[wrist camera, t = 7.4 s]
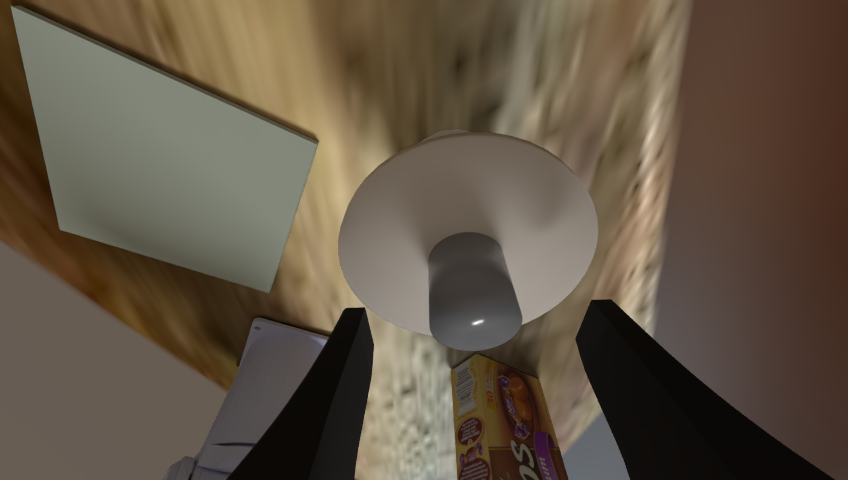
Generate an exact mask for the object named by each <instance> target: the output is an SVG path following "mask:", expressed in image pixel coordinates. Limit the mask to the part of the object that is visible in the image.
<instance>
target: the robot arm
mask: <svg viewBox="0 0 848 480" xmlns="http://www.w3.org/2000/svg"><path fill="white" fill-rule="evenodd" d="M576 343H577V346H578V350H579V353H580V356H581V360H582V363H583V366H584V369H585V372H586V374H587V376H588V379H589V381H590V383H591V386H592V388H593V390H594V393H595V395H596V397H597V399H598V402H599V404H600V406H601V408H602V411H603V413H604V415H605V417H606V420H607V422H608V424H609V426H610V428H611V431H612V433H613V435H614V438H615V440H616V442H617V445H618V447H619V450H620V452H621V455H622V457H623V459H624V462H625V465H626V468H627V471H628V474H629V477H630V480H835V479H833V478H831V477H830V476H829V475H827V474H826V473H824V472H823V471H821V470H820V469H818V468H817V467H815V466H814V465H813V464H811V463H810V462H808V461H807V460H805V459H804V458H802V457H801V456H799V455H798V454H796V453H795V452H793V451H792V450H791V449H789V448H788V447H786V446H785V445H783V444H782V443H781V442H779V441H778V440H777V439H775V438H774V437H772V436H771V435H769V434H768V433H767V432H766V431H764V430H763V429H762V428H760V427H759V426H757V425H756V424H755V423H754V422H752V421H751V420H749V419H748V418H747V417H746V416H744V415H743V414H742V413H740V412H739V411H738V410H736V409H735V408H734V407H732V406H731V405H730V404H729V403H727V402H726V401H725V400H724V399H722V398H721V397H720V396H718V395H717V394H716V393H715V392H714V391H712V390H711V389H710V388H709V387H708V386H706V385H705V384H704V383H703V382H702V381H700V380H699V379H698V378H697V377H696V376H694V375H693V374H692V373H691V372H690V371H689V370H687V369H686V368H685V367H684V366H683V365H682V364H681V363H679V362H678V361H677V360H676V359H675V358H674V357H672V356H671V355H670V354H669V353H668V352H667V351H666V350H665V349H664V348H663V347H662V346H660V345H659V344H658V343H657V342H656V341H655V340H654V339H653V338H652V337H651V336H650V335H649V334H647V333H646V332H645V331H644V330H643V329H642V328H641V327H640V326H639V325H638V324H637V323H636V322H635V321H634V320H633V319H631V318H630V317H629V316H628V315H627V314H626V313H625V312H624V311H623V310H622V309H621V308H620V307H619V306H618V305H617V304H615V303H614V302H613V301H612V300H611V299H608V300H591V302H590V305H589V307H588V309H587V312H586V314H585V317H584V319H583V322H582V324H581V327H580V329H579V331H578V334H577V336H576ZM373 352H374V343H373V339H372V335H371V330H370V326H369V322H368V318H367V314H366V310H365V307H364V308H346V309H345V310H344V311H343V312H342V314H341V316H340V318H339V320H338V322H337V324H336V326H335V328H334V330H333V331H332V333H331V335H330V337H327V336H324V335H320V334H317V333H313V332H309V331H306V330H302V329H299V328H295V327H292V326H288V325H285V324H281V323H278V322H274V321H270V320H267V319H263V318H255V319H254V320H253V322H252V325H251V329H250V332H249V335H248V339H247V342H246V345H245V349H244V352H243V355H242V358H241V362H240V365H239V368H238V372H237V375H236V377H235V379H234V381H233V383H232V385H231V388H230V390H229V392H228V394H227V396H226V398H225V400H224V402H223V404H222V406H221V408H220V411H219V413H218V415H217V417H216V419H215V421H214V423H213V425H212V427H211V429H210V431H209V434H208V436H207V438H206V440H205V442H204V444H203V446H202V448H201V450H200V452H199V453H198V454H197V455H196V456H195V458H192V457H189V456H185V457H183V458H182V459H181V460H180V461H178V462H176V463H174V464H173V465H171V466H170V467H169V468H168V470H167V471H166V473H165V474H164V476H163V477H162V479H161V480H354V476H355V467H356V460H357V453H358V447H359V441H360V436H361V431H362V425H363V420H364V415H365V409H366V404H367V398H368V393H369V388H370V382H371V376H372V365H373Z"/></svg>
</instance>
